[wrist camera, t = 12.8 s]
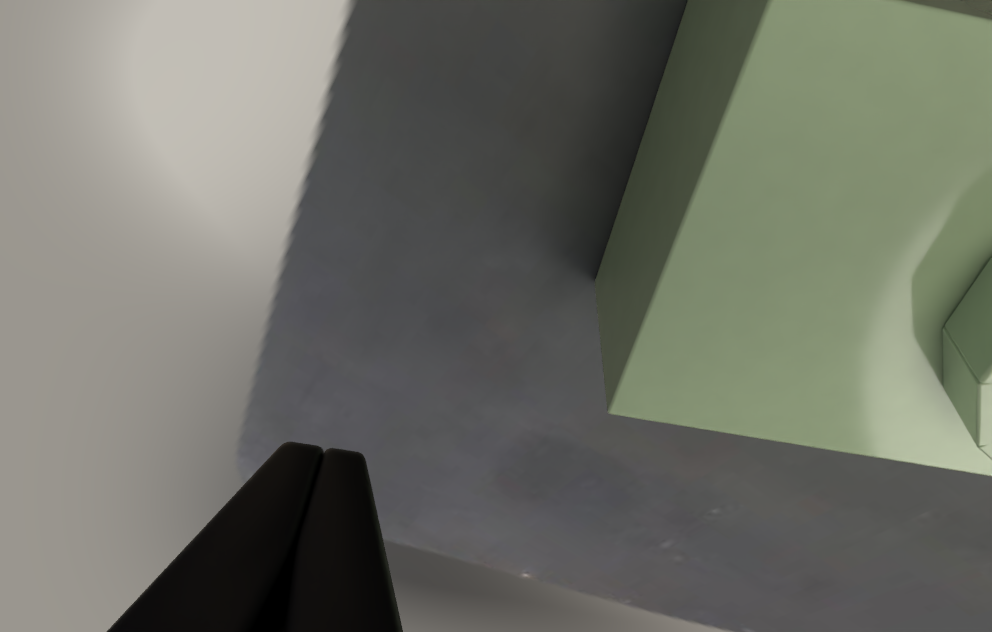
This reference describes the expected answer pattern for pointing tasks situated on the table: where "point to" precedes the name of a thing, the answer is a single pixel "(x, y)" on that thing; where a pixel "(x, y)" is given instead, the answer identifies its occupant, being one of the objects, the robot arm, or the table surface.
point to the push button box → (813, 232)
